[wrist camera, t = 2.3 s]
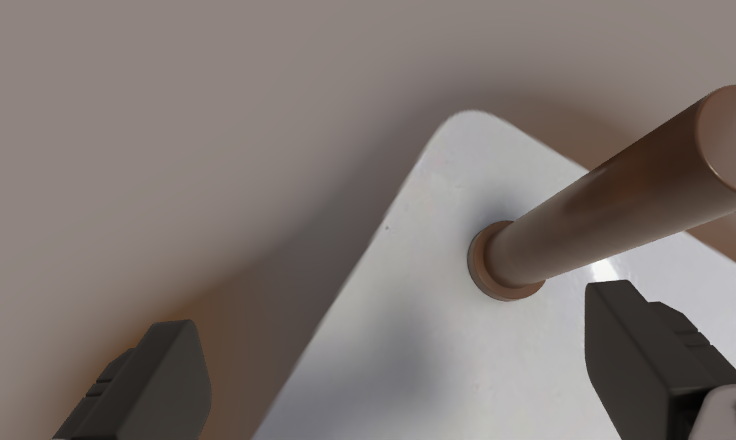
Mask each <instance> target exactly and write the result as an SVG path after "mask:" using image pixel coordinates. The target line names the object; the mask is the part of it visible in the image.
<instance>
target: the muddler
mask: <svg viewBox="0 0 736 440" xmlns="http://www.w3.org/2000/svg"><path fill="white" fill-rule="evenodd" d="M734 212H736V85H729V86H725V87H722V88H719V89H716V90H715V91H713V92H711V93H710V94H708V95H707V96H705V97H704V98H702V99H700V100H699V101H697V102H696V103H695V104H693V105H691V106H690V107H688V108H687V109H686V110H684V111H682V112H681V113H679V114H678V115H676V116H675V117H673V118H672V119H670V120H668V121H667V122H666V123H664V124H662V125H661V126H659V127H658V128H656V129H655V130H653V131H652V132H650V133H649V134H647V135H646V136H644V137H643V138H641V139H639V140H638V141H636V142H635V143H633V144H632V145H630V146H629V147H627V148H626V149H624V150H623V151H621V152H620V153H618V154H617V155H615V156H614V157H612V158H610V159H609V160H607V161H606V162H604V163H603V164H601V165H600V166H598V167H597V168H595V169H594V170H592V171H591V172H589V173H587V174H586V175H584V176H583V177H581V178H580V179H578V180H577V181H575V182H574V183H572V184H571V185H569V186H568V187H566V188H565V189H563V190H561V191H560V192H558V193H557V194H555V195H554V196H552V197H551V198H549V199H548V200H546V201H545V202H543V203H542V204H540V205H539V206H537V207H536V208H534V209H532V210H531V211H529V212H528V213H526V214H525V215H523V216H522V217H520V218H519V219H517V220H516V221H500V222H496V223H494V224H492V225H490V226H488V227H487V228H486V229H484V230H483V231H481V232H480V233H479V234H478V235H477V236H476V237H475V239H474V240H473V242H472V244H471V246H470V249H469V253H468V266H469V270H470V274H471V276H472V278H473V280H474V282H475V283H476V285H477V286H478V287H479V288H480V289H481V290H482V291H483V292H484V293H486V294H487V295H489V296H490V297H492V298H495V299H498V300H502V301H515V300H519V299H522V298H526V297H528V296H531V295H532V294H534V293H535V292H537V291H538V290H539V289H540V288H541V287H542V285H543V284H544V283H545V281H546V279H549V278H551V277H554V276H557V275H560V274H563V273H565V272H568V271H571V270H574V269H577V268H580V267H582V266H585V265H588V264H591V263H594V262H596V261H599V260H602V259H605V258H608V257H610V256H613V255H616V254H619V253H622V252H625V251H627V250H630V249H633V248H636V247H639V246H641V245H644V244H647V243H650V242H653V241H656V240H658V239H661V238H664V237H667V236H670V235H672V234H675V233H678V232H681V231H684V230H687V229H689V228H692V227H695V226H697V225H701V224H703V223H706V222H709V221H712V220H715V219H717V218H720V217H723V216H726V215H729V214H731V213H734Z"/></svg>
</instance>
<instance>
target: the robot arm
mask: <svg viewBox="0 0 736 440" xmlns="http://www.w3.org/2000/svg"><path fill="white" fill-rule="evenodd" d="M585 361H586V367H587V371H588V375H589V378H590V381H591V383H592V385H593V387H594V389H595V391H596V393H597V395H598V396H599V398H600V400H601V402H602V404H603V406H604V408H605V410H606V411H607V413H608V415H609V417H610V419H611V421H612V423H613V424H614V426H615V428H616V430H617V432H618V434H619V436H620V437H621V439H622V440H736V369H735V368H734V367H733V366H732V365H731V364H730V363H729V362H728V361H727V360H726V359H725V357H724V356H723V355H722V354H721V353H720V352H719V351H718V350H717V349H716V348H715V347H714V346H713V345H710V342H709V341H708V340H707V338H706V337H705V336H704V335H703V334H702V333H701V332H698V329H697V328H696V327H695V326H694V325H693V324H692V323H691V322H690V321H689V319H688V318H687V317H686V316H685V315H684V314H683V313H681V312H679V311H677V310H675V309H673V308H671V307H669V306H667V305H665V304H663V303H661V302H660V301H659V302H647V301H646V300H645V298H644V297H643V296H642V295H641V294H640V293H639V292H638V290H637V289H636V288H635V287H634V286H633V285H632V283H631V282H630V281H628V280H616V281H606V282H595V283H588V284H587V286H586V289H585ZM210 407H211V384H210V380H209V376H208V372H207V368H206V363H205V360H204V355H203V352H202V347H201V343H200V340H199V335H198V332H197V328H196V326H195V324H194V322H193V321H192V320H180V321H168V322H158V323H154V324H152V326H151V327H150V328H149V330H148V331H147V332H146V334H145V335H144V337H143V338H142V339H141V341H140V342H139V344H138V345H137V346H136V348H131V349H128V350H127V351H126V352H124V353H123V354H122V355H120V356H119V357H118V358H116V359H115V360H113V361H112V362H111V363H109V364H108V366H107V367H106V368H105V370H104V371H103V372H102V374H101V375H100V376H99V378H98V379H97V380H96V384H93V385H92V387H91V388H90V389H89V391H88V392H87V393H86V398H82V400H81V401H80V403H79V404H78V405H77V406H76V408H75V409H74V410H73V412H72V413H71V414H70V416H69V417H68V418H67V419H66V421H65V422H64V423H63V425H62V426H61V427H60V429H59V430H58V431H57V433H56V434H55V435H54V437H53V438H52V439H51V440H198V438H199V436H200V433H201V431H202V429H203V426H204V424H205V422H206V419H207V417H208V415H209V411H210Z"/></svg>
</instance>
